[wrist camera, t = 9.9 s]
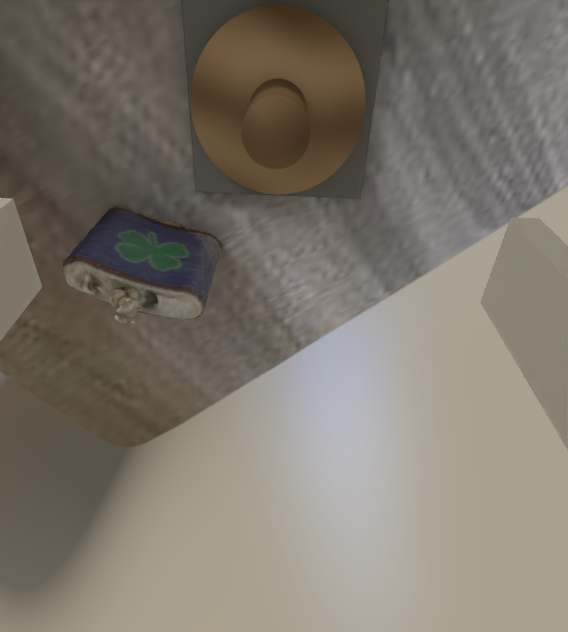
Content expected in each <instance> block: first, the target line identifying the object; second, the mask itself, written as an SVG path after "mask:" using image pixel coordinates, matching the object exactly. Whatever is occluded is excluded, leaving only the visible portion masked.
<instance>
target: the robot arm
mask: <svg viewBox="0 0 568 632" xmlns="http://www.w3.org/2000/svg"><path fill="white" fill-rule="evenodd" d="M41 288H42V285H41V282H40V279H39V276H38V273H37V270H36V267H35V264H34V260H33V257H32V254H31V251H30V248H29V245H28V242H27V239H26V236H25V233H24V230H23V227H22V224H21V221H20V218H19V215H18V212H17V209H16V206H15V203H14V200H13V198H0V341H1V340H2V338H3V337H4V336H5V334H6V333H7V332H8V331H9V329H10V328H11V327H12V325H13V324H14V323H15V322H16V320H17V319H18V318H19V316H20V315H21V314H22V313H23V311H24V310H25V309H26V307H27V306H28V305H29V304H30V302H31V301H32V300H33V298H34V297H35V296H36V295H37V293H38V292H39V291H40V289H41ZM481 304H482V306H483V307H484V309H485V310H486V312H487V314H488V316H489V317H490V319H491V321H492V322H493V324H494V326H495V327H496V329H497V331H498V333H499V334H500V336H501V338H502V339H503V341H504V343H505V344H506V346H507V348H508V349H509V351H510V353H511V355H512V356H513V358H514V360H515V361H516V363H517V365H518V366H519V368H520V370H521V372H522V373H523V375H524V377H525V378H526V380H527V382H528V383H529V385H530V387H531V388H532V390H533V392H534V394H535V395H536V397H537V398H538V400H539V402H540V404H541V405H542V407H543V409H544V411H545V412H546V414H547V416H548V417H549V419H550V421H551V422H552V424H553V426H554V427H555V429H556V431H557V432H558V434H559V436H560V438H561V439H562V441H563V443H564V444H565V446H566V448H567V449H568V246H567V245H566V244H565V243H564V242H563V241H562V240H561V239H560V238H559V237H558V236H557V235H556V234H555V233H554V232H553V231H552V230H550V228H548V227H547V226H546V225H545V224H544V223H543V222H542V221H541V220H540V219H534V218H533V219H532V218H511V219H510V222H509V225H508V227H507V230H506V233H505V236H504V239H503V242H502V244H501V247H500V250H499V253H498V255H497V258H496V261H495V264H494V266H493V269H492V272H491V275H490V278H489V280H488V283H487V286H486V288H485V291H484V294H483V297H482V300H481Z"/></svg>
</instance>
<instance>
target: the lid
mask: <svg viewBox="0 0 568 632" xmlns="http://www.w3.org/2000/svg"><path fill="white" fill-rule="evenodd" d="M365 106H366V96H365V85H364V80H363V75H362V72H361V69H360V66H359V63H358V61H357V59H356V56H355V54H354V52H353V51H352V49H351V47H350V46H349V44H348V43H347V41H346V40H345V39H344V38H343V36H342V35H341V34H340V33H339V32H338V31H337V30H336V29H335V28H334V27H333V26H332V25H331V24H329V23H328V22H327V21H326V20H324V19H323V18H321V17H320V16H318V15H316V14H314V13H312V12H310V11H308V10H306V9H302V8H299V7H295V6H289V5H282V4H281V5H266V6H261V7H256V8H253V9H251V10H248V11H245V12H243V13H242V14H240V15H238V16H236V17H234V18H232V19H231V20H230V21H228V22H227V23H226V24H225V25H223V26H222V27H221V28H220V29H219V30H218V31H217V32H216V33H215V34H214V35H213V36H212V38H211V39H210V41H209V42H208V43H207V45H206V46H205V48H204V50H203V52H202V54H201V55H200V57H199V60H198V62H197V65H196V68H195V71H194V75H193V79H192V86H191V112H192V119H193V123H194V127H195V130H196V133H197V135H198V138H199V141H200V143H201V145H202V146H203V148H204V150H205V152H206V153H207V155H208V156H209V158H210V159H211V161H212V162H213V163H214V164H215V165H216V166H217V167H218V168H219V169H220V170H221V171H222V172H223V173H224V174H225V175H226V176H227V177H229V178H230V179H232V180H233V181H235V182H236V183H238V184H240V185H242V186H244V187H246V188H249V189H251V190H254V191H258V192H262V193H267V194H291V193H297V192H300V191H304V190H307V189H309V188H312V187H314V186H316V185H318V184H320V183H321V182H323V181H325V180H326V179H327V178H329V177H330V176H331V175H333V174H334V173H335V172H336V171H337V170H338V169H339V168H340V167H341V166H342V165H343V163H344V162H345V161H346V160H347V158H348V157H349V155H350V154H351V152H352V150H353V149H354V147H355V145H356V143H357V140H358V138H359V136H360V132H361V129H362V126H363V121H364V116H365Z"/></svg>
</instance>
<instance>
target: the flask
mask: <svg viewBox="0 0 568 632" xmlns="http://www.w3.org/2000/svg"><path fill="white" fill-rule="evenodd" d="M220 252H221V247H220V242H219V240H218V239H217V238H215V237H214V236H212V235H211V234H209V233H206V232H204V231H203V230H200V229H198V231H196V230H192V229H189V228H186V227H183V226H182V225H181V224H177V223H175V221H174V222H171V221H169V220H168V221H166V220H165V221H157V220H155V219H154V217H153V216H144V215H141V214H140V213H138V211H133V210H131V209H129V208H125V207H123V206H116V207H113V208H111V209H109V211H108V212H107V213H106V214H105V215H104V216H103V217H102V218H101V219H100V220H99V222H98V223H97V224H96V225H95V226H94V228H92V229H91V230H90V232H89V233H88V234H87V236H86V237H85V238H84V239H83V240H82V241H81V242H80V243H79V245H78V246H77V247H76V248H75V249H74V250H73V251H72V253H71V254H70V256H68V257H67V258H66V260H64V261H63V276H64V278H65V280H66V282H67V284H69V285H70V286H72V287H73V288H74V289H76V290H78V291H80V292H83V293H86V294H89V295H91V296H93V297H95V298H97V299H99V300H102V301H104V302H107V303H110V304H111V305H113V306H114V307H115V308H117V310H116V311H117V312H118V313H120V314H121V315H125V316H126V317H134V316H135V314H136V313H137V312H142V313H146V314H151V315H155V316H164V317H170V318H176V319H186V320H189V319H195V318H197V317H199V316H200V315H201V314H202V313H203V311H204V308H205V306H206V302H207V297H208V292H209V289H210V286H211V281H212V278H213V275H214V272H215V269H216V264H217V261H218V258H219V255H220ZM115 320H117V321H118V322H120V323H122V324H127V323H128V321H127V319H126V318H122V317H119V316H118V315H116V316H115ZM131 323H132V324H135V323H136V321H132V322H131Z"/></svg>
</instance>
